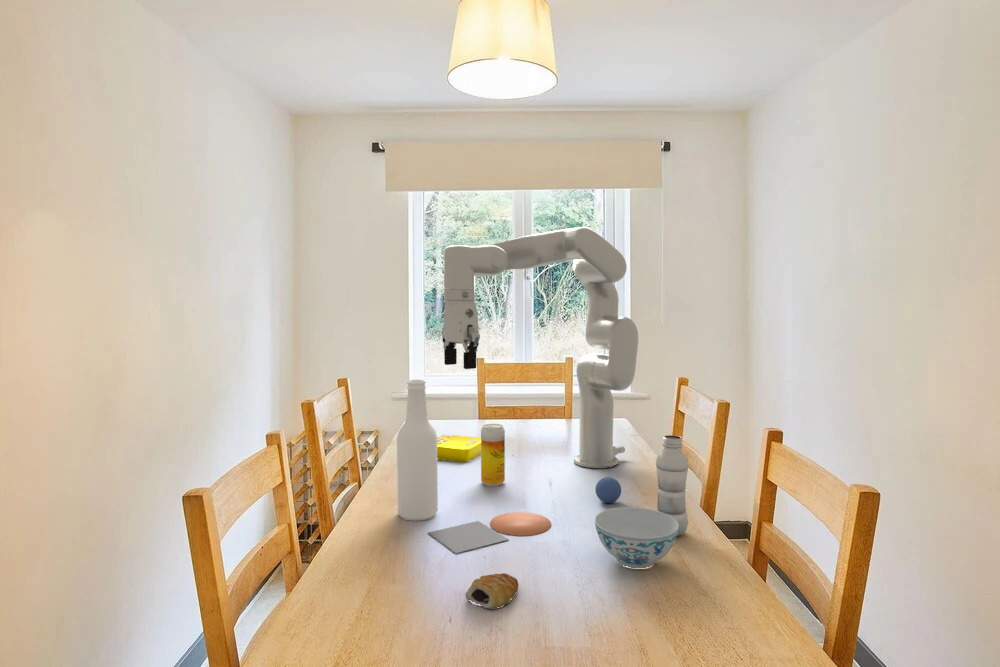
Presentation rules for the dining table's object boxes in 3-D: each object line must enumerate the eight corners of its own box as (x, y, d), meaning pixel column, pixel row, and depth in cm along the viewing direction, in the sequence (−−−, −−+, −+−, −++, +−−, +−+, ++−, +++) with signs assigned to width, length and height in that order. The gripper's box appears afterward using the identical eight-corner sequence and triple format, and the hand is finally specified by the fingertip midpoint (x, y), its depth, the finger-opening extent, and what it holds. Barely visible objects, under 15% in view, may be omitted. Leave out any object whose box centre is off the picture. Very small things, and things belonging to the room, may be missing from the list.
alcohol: (428, 523, 135) (426, 384, 133) (390, 519, 138) (389, 382, 136) (443, 510, 144) (442, 378, 142) (408, 506, 146) (406, 377, 144)
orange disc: (527, 509, 144) (527, 508, 144) (563, 527, 133) (563, 526, 133) (478, 520, 137) (478, 519, 137) (512, 540, 126) (512, 539, 126)
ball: (609, 496, 153) (609, 472, 152) (626, 503, 148) (627, 478, 147) (589, 501, 150) (590, 476, 149) (607, 508, 145) (607, 482, 144)
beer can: (502, 487, 160) (502, 429, 159) (478, 486, 161) (478, 428, 160) (506, 480, 166) (506, 423, 165) (484, 479, 167) (483, 423, 166)
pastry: (495, 581, 110) (495, 559, 109) (528, 592, 106) (529, 569, 105) (462, 603, 102) (462, 580, 102) (496, 616, 98) (496, 592, 98)
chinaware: (619, 539, 127) (619, 501, 126) (691, 559, 117) (692, 519, 117) (578, 564, 115) (579, 523, 115) (655, 589, 106) (656, 544, 105)
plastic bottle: (670, 542, 126) (672, 442, 124) (647, 530, 132) (649, 435, 130) (694, 536, 129) (696, 439, 127) (671, 525, 135) (673, 432, 133)
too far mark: (478, 521, 137) (478, 520, 136) (508, 540, 126) (508, 539, 126) (427, 533, 130) (427, 532, 130) (456, 554, 120) (456, 553, 120)
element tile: (467, 464, 183) (467, 447, 182) (421, 459, 188) (421, 443, 188) (487, 451, 197) (487, 436, 196) (444, 447, 202) (444, 432, 202)
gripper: (491, 297, 149) (491, 369, 150) (456, 296, 164) (456, 362, 165) (463, 297, 145) (463, 371, 146) (429, 296, 160) (430, 363, 161)
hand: (460, 366), depth 156 cm, fingers open, 9 cm apart
